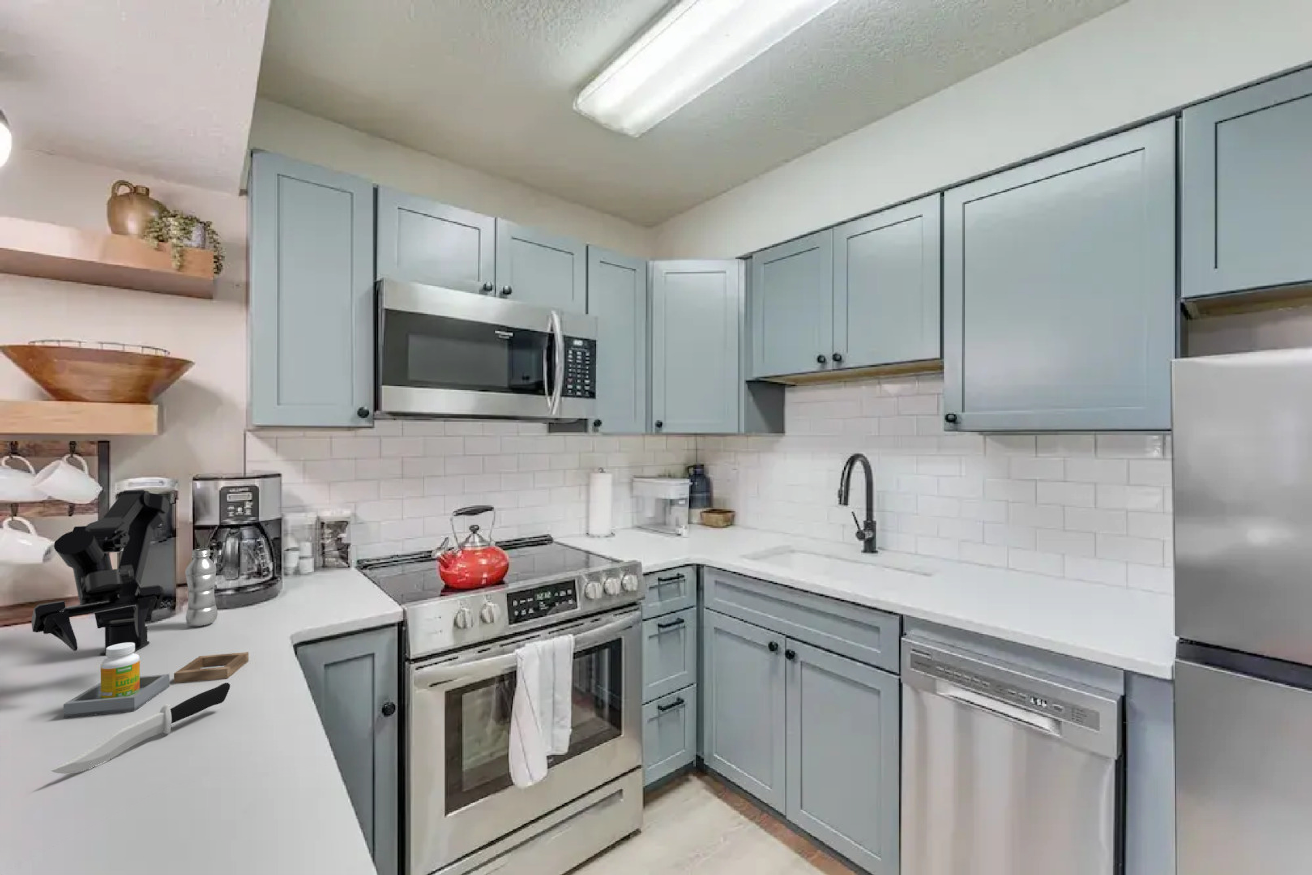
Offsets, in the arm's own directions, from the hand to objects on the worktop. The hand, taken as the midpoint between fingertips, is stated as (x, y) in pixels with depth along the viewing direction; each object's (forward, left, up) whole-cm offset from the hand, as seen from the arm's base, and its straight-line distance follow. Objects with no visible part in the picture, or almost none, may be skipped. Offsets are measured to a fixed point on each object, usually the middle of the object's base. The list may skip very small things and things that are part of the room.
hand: (108, 642), depth 112 cm
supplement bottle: (+5, -6, -9) cm, 12 cm away
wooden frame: (+15, +5, -9) cm, 19 cm away
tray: (+5, -6, -9) cm, 12 cm away
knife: (+20, -25, -10) cm, 33 cm away
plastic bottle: (-4, +41, -10) cm, 43 cm away
